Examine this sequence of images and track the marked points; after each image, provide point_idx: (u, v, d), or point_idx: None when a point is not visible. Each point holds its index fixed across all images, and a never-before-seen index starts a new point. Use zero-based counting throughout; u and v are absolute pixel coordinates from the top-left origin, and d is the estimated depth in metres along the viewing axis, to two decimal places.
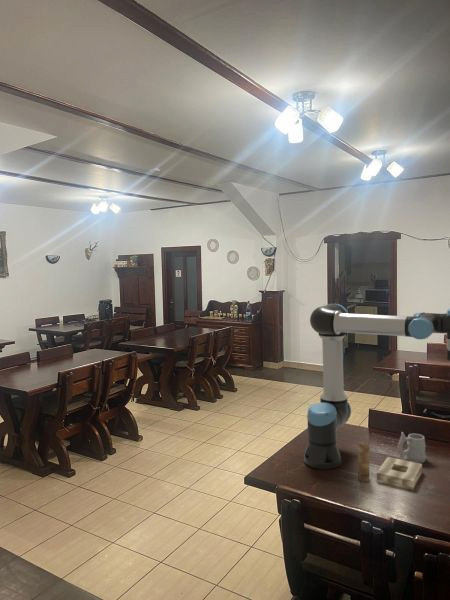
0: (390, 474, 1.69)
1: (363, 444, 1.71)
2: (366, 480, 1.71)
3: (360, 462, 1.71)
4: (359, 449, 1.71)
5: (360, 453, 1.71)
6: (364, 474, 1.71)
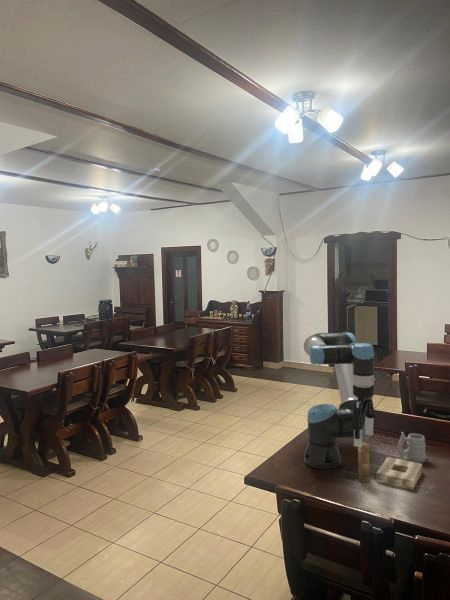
0: (390, 474, 1.69)
1: (363, 444, 1.71)
2: (366, 480, 1.71)
3: (360, 462, 1.71)
4: (359, 449, 1.71)
5: (360, 453, 1.71)
6: (364, 474, 1.71)
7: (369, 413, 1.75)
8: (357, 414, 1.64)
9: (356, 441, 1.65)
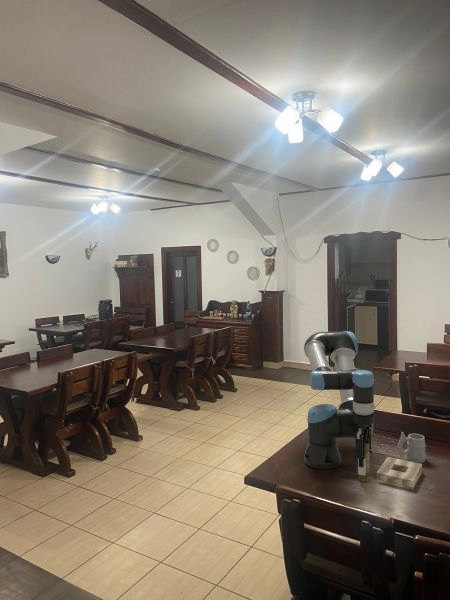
0: (390, 474, 1.69)
1: None
2: (366, 480, 1.71)
3: None
4: None
5: None
6: None
7: None
8: (359, 445, 1.67)
9: (360, 469, 1.70)
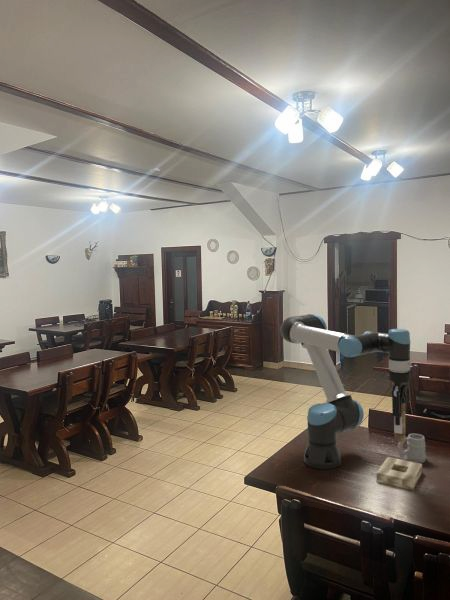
0: (390, 474, 1.69)
1: None
2: (402, 439, 1.71)
3: None
4: None
5: None
6: None
7: None
8: (396, 402, 1.66)
9: (396, 428, 1.70)
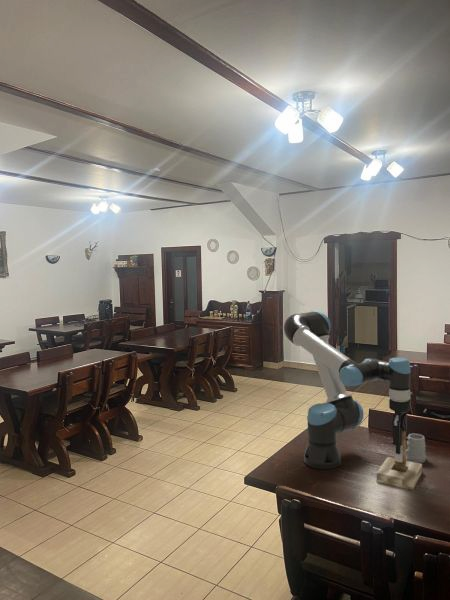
0: (390, 474, 1.69)
1: None
2: (403, 468, 1.72)
3: None
4: None
5: None
6: (401, 462, 1.71)
7: None
8: (396, 432, 1.67)
9: (397, 456, 1.71)
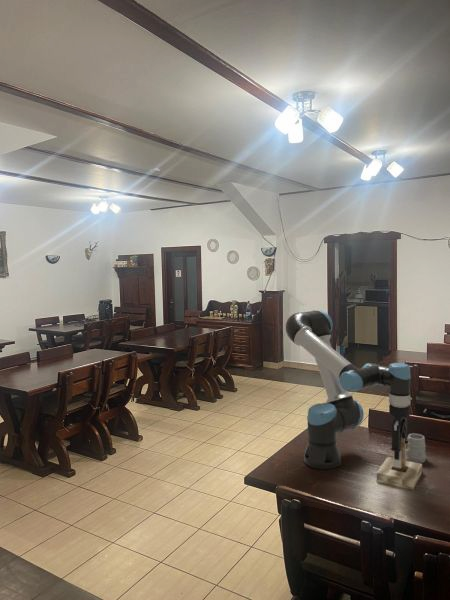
0: (390, 474, 1.69)
1: None
2: None
3: None
4: None
5: None
6: (400, 468, 1.72)
7: (403, 436, 1.75)
8: (396, 437, 1.67)
9: (395, 462, 1.70)
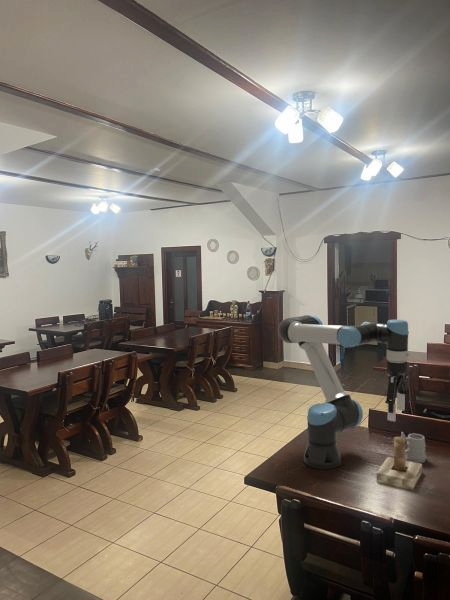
0: (390, 474, 1.69)
1: (399, 439, 1.72)
2: None
3: (396, 456, 1.72)
4: (395, 444, 1.72)
5: (396, 448, 1.72)
6: (400, 468, 1.72)
7: (401, 389, 1.77)
8: (391, 388, 1.66)
9: (390, 415, 1.68)
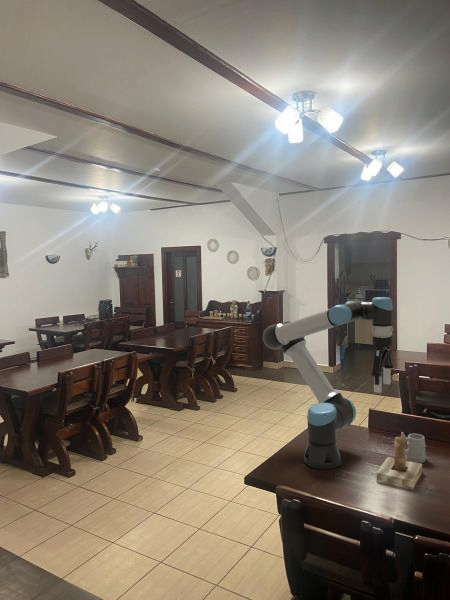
0: (390, 474, 1.69)
1: (400, 439, 1.72)
2: None
3: (396, 456, 1.72)
4: (396, 444, 1.72)
5: (397, 448, 1.72)
6: (400, 468, 1.72)
7: (387, 363, 1.86)
8: (377, 361, 1.75)
9: (376, 387, 1.77)
